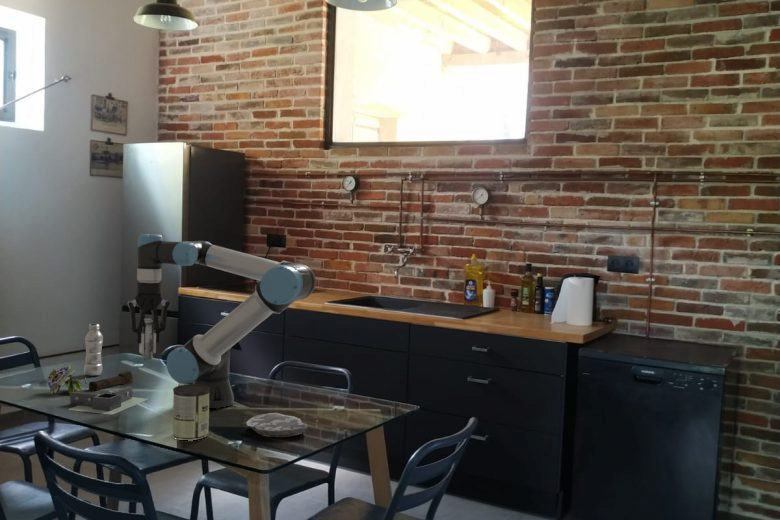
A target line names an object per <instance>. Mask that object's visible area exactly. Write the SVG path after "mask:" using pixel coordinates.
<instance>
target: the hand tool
mask: <svg viewBox="0 0 780 520" xmlns="http://www.w3.org/2000/svg"><path fill="white" fill-rule="evenodd" d="M133 381H134V377H133V373H132V371H130V370H129V371H127V370H126V371H124V372H119V373H118V374H117V375H116V376H113V377H109V378H108V377H107V378H105V379H99V380H96V381H90V382H89V383H88V390H89V391H95V392H97V391H101V390H103V389H104V390H105V389H108V388H113V387H117V386H126V385H128V384H131V383H133ZM125 384H126V385H125Z"/></svg>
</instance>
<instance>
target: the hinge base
mask: <svg viewBox="0 0 780 520" xmlns="http://www.w3.org/2000/svg"><path fill="white" fill-rule="evenodd" d="M69 397H70V399H69V400H70V401H69V404H70V405H72V406H78V405H79V406H88V407H93V410H103V411H112V410H114V409H117V408H119V407H121V394H112V392H111V393H109V392H103V393H101V394H99V393H89V392H81V391H80V392H77V391H74V392H70V395H69Z"/></svg>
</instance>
